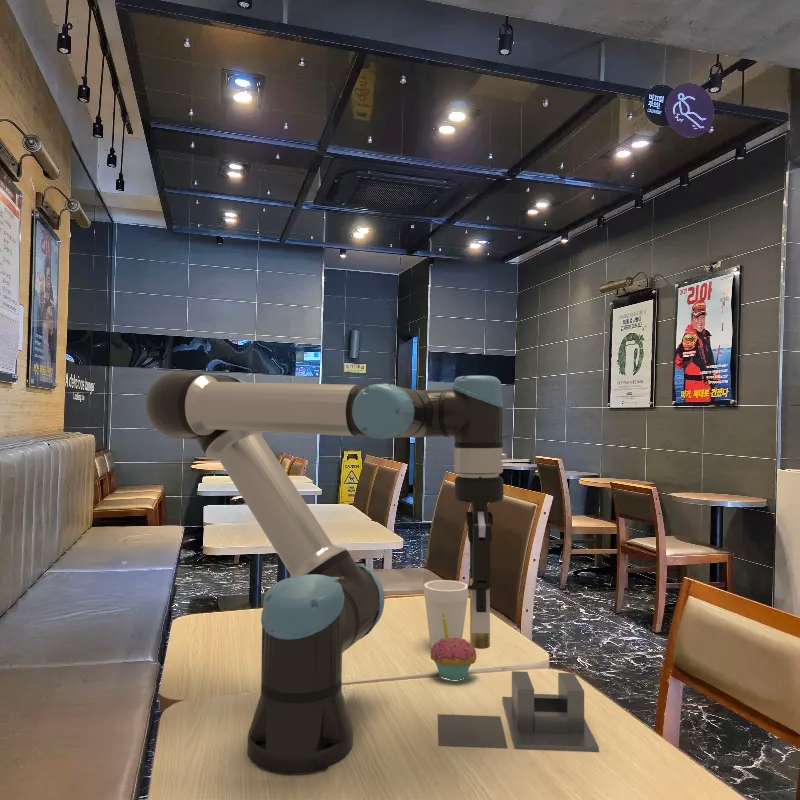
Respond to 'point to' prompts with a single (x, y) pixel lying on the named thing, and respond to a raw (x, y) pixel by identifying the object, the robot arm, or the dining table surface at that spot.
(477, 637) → the peg
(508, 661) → the dining table surface
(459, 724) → the mat
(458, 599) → the foam cup
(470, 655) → the cupcake
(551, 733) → the bracket
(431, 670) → the dining table surface
